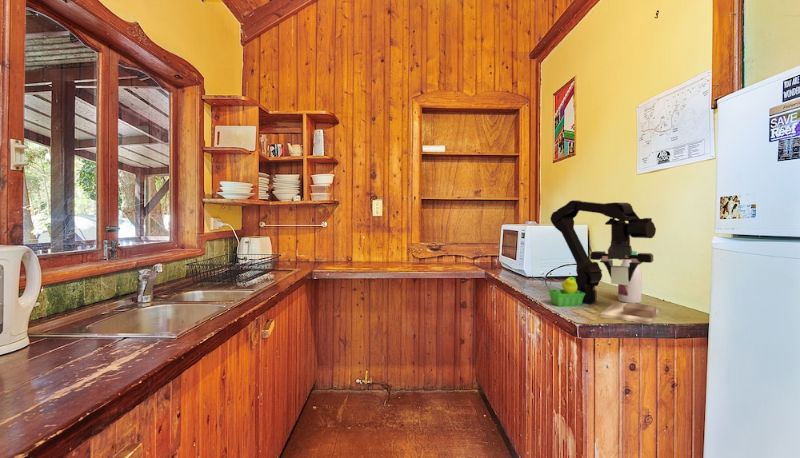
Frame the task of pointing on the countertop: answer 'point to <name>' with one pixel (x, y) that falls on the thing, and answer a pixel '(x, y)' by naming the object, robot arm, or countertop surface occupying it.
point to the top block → (620, 275)
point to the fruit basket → (567, 294)
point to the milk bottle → (631, 285)
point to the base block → (639, 310)
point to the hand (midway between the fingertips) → (620, 280)
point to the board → (617, 313)
